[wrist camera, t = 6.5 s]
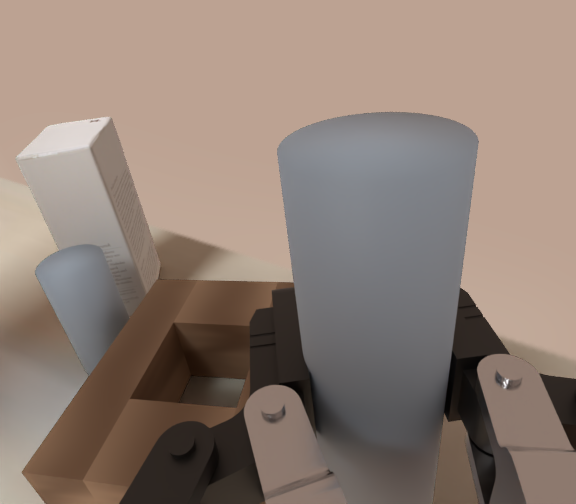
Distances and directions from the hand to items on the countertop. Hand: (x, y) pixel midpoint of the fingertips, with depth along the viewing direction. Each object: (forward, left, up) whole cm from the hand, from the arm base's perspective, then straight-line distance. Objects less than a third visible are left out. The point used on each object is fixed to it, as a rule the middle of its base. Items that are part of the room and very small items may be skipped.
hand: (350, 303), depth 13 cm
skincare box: (-17, +12, -10) cm, 23 cm away
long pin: (+1, -3, -10) cm, 10 cm away
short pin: (-15, +6, -10) cm, 19 cm away
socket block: (-7, +3, -10) cm, 13 cm away
